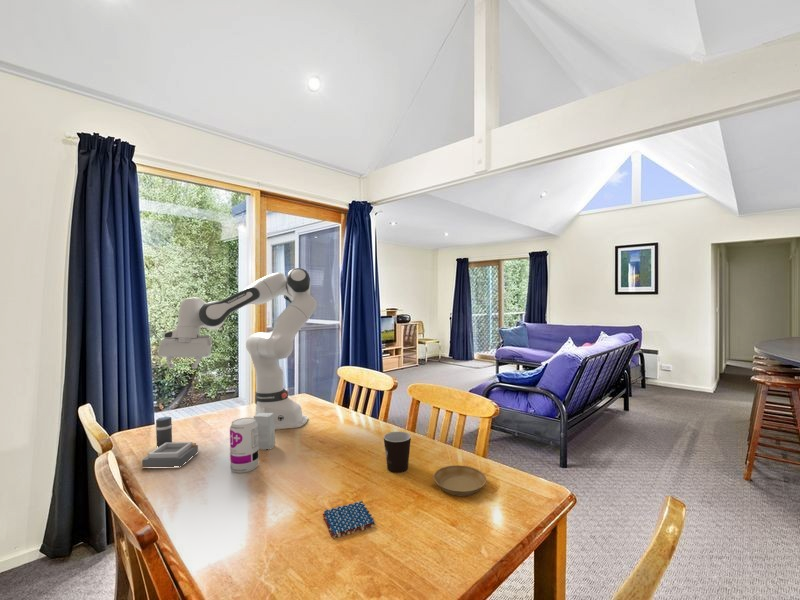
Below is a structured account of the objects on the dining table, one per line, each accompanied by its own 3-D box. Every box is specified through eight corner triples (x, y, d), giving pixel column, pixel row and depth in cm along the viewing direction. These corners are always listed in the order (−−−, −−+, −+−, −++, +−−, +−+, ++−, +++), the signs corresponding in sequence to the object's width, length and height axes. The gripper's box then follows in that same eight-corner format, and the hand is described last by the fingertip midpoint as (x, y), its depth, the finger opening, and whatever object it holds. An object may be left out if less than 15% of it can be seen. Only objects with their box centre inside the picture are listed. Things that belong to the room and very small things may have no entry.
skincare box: (275, 445, 137) (274, 412, 136) (270, 450, 132) (269, 416, 132) (259, 444, 137) (258, 412, 137) (253, 449, 133) (253, 416, 133)
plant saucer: (475, 506, 96) (475, 496, 95) (424, 491, 103) (424, 482, 103) (493, 481, 108) (493, 472, 108) (446, 469, 116) (446, 461, 116)
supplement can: (239, 476, 113) (238, 427, 113) (225, 469, 118) (224, 422, 118) (263, 466, 119) (262, 420, 119) (249, 460, 124) (248, 415, 124)
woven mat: (321, 517, 92) (321, 509, 92) (362, 506, 97) (362, 499, 97) (331, 542, 83) (331, 533, 83) (376, 529, 87) (376, 521, 87)
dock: (198, 453, 131) (197, 440, 130) (180, 467, 120) (180, 454, 119) (163, 454, 130) (162, 441, 130) (142, 469, 119) (142, 455, 119)
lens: (175, 443, 140) (174, 416, 140) (167, 448, 135) (166, 420, 135) (161, 443, 140) (161, 416, 140) (153, 449, 135) (152, 420, 135)
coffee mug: (408, 476, 112) (408, 442, 111) (380, 473, 113) (380, 441, 113) (415, 459, 123) (414, 428, 123) (389, 457, 125) (389, 427, 125)
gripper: (215, 336, 160) (211, 368, 156) (167, 336, 159) (161, 369, 156) (209, 333, 154) (204, 367, 150) (158, 333, 153) (152, 367, 149)
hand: (182, 368), depth 153 cm, fingers open, 8 cm apart
